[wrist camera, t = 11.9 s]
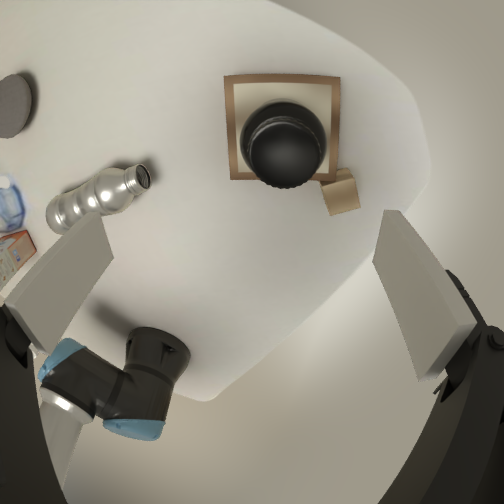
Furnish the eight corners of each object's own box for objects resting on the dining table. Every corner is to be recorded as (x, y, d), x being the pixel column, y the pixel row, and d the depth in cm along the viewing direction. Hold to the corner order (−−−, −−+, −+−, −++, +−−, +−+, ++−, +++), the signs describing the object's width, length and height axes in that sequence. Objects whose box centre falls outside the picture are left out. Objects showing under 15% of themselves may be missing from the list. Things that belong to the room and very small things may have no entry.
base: (329, 170, 33) (336, 182, 29) (235, 169, 34) (230, 180, 30) (332, 78, 26) (340, 77, 22) (229, 77, 27) (223, 75, 23)
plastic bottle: (54, 192, 36) (140, 144, 32) (75, 221, 41) (162, 184, 36) (34, 216, 32) (120, 167, 27) (58, 246, 36) (148, 211, 32)
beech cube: (352, 194, 34) (360, 207, 31) (325, 202, 35) (330, 215, 32) (346, 167, 32) (354, 177, 29) (317, 175, 33) (321, 186, 30)
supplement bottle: (306, 91, 24) (327, 94, 14) (320, 152, 27) (346, 193, 18) (241, 106, 25) (218, 119, 15) (258, 164, 29) (248, 213, 19)
